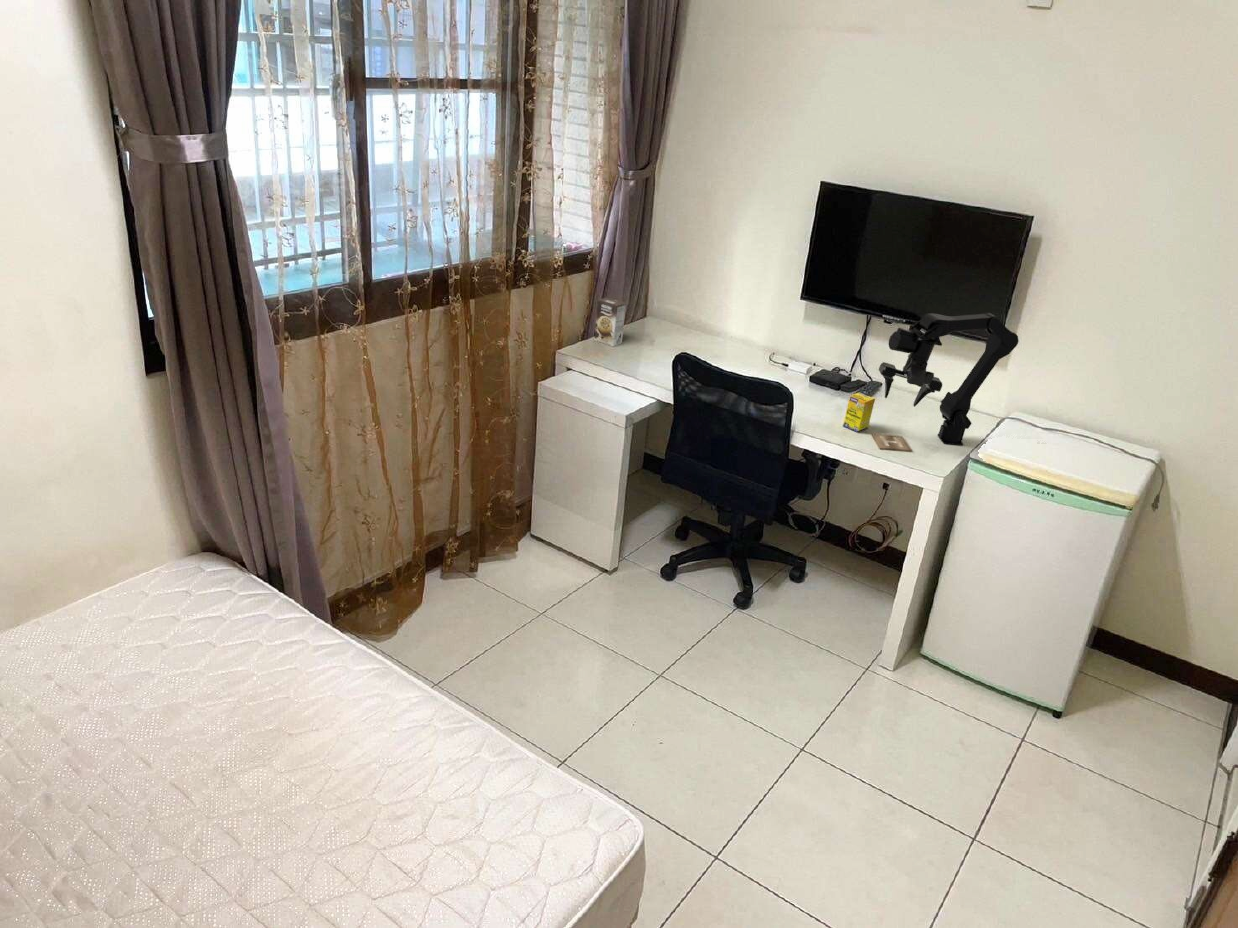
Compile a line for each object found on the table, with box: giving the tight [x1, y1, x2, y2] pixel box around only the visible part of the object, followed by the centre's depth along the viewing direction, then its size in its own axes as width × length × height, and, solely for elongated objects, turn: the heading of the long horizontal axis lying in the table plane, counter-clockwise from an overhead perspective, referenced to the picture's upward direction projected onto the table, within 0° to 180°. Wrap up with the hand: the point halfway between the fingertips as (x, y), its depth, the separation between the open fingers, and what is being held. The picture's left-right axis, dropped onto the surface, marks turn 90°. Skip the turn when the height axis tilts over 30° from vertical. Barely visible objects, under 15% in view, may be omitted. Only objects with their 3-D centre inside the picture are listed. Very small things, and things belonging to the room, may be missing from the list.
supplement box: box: [842, 391, 876, 434], centre depth 285 cm, size 6×6×11 cm
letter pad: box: [870, 433, 912, 453], centre depth 279 cm, size 10×10×1 cm
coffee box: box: [594, 296, 627, 347], centre depth 335 cm, size 9×6×16 cm
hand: (899, 401), depth 275 cm, fingers open, 9 cm apart
